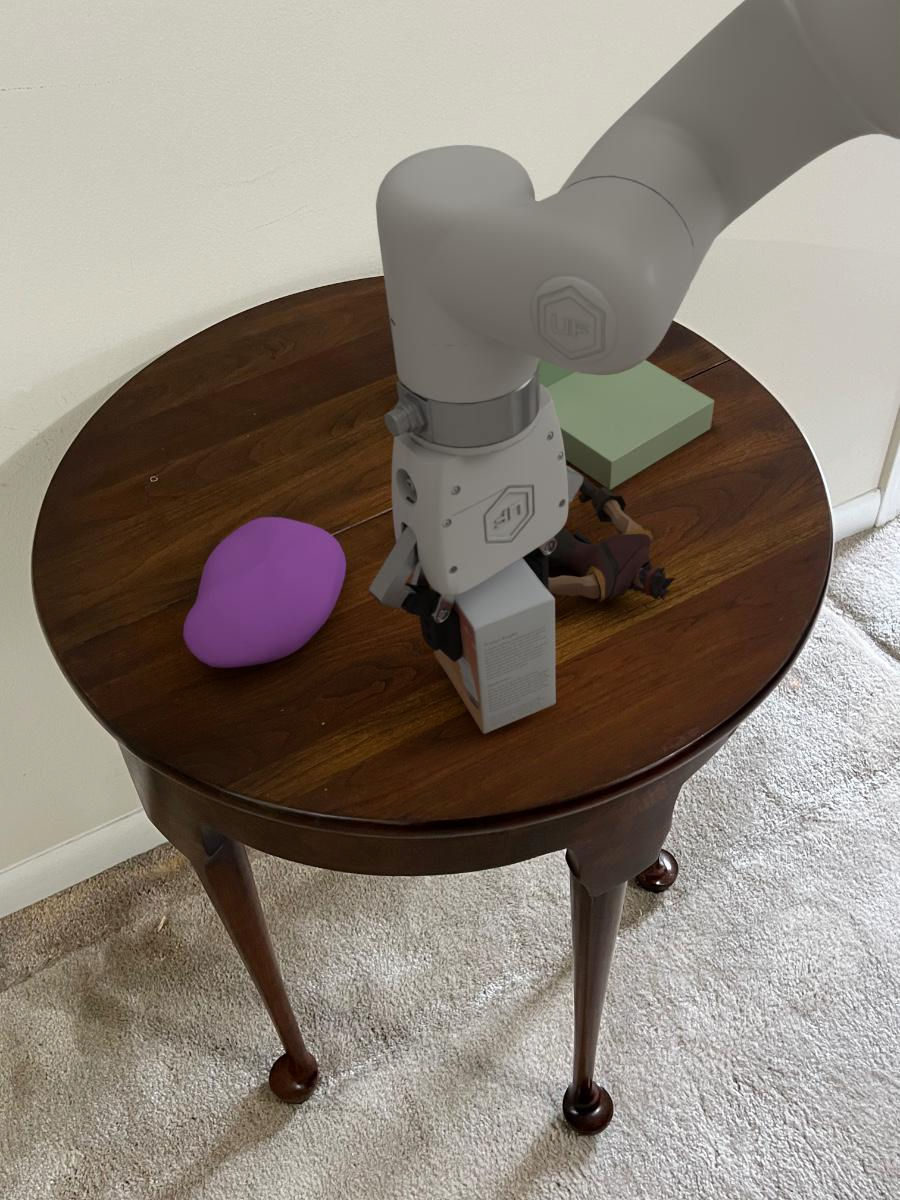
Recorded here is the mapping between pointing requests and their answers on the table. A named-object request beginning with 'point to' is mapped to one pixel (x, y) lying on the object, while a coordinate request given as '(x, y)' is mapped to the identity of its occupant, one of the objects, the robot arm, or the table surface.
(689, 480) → the table surface
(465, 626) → the small box
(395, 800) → the table surface
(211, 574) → the blob
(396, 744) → the table surface
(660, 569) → the figurine
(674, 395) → the green l-shaped step
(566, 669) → the table surface
